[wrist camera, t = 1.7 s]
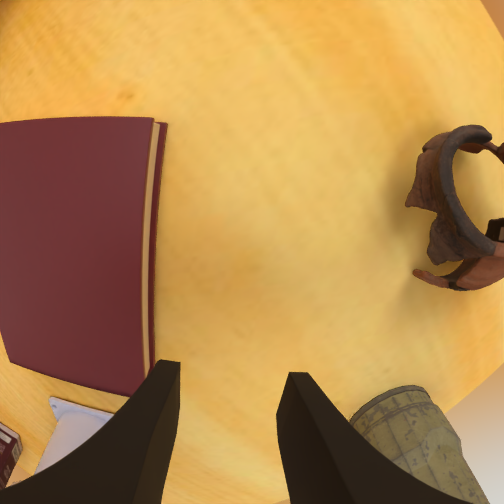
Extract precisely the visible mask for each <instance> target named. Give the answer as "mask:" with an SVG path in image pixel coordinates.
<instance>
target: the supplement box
mask: <svg viewBox="0 0 504 504" xmlns="http://www.w3.org/2000/svg"><path fill="white" fill-rule="evenodd" d="M21 452H22V446H21V441H20V437H19V435H18V434H17V433H15V432H14V431H12V430H10V429H9V428H7V427H6V426H4V425H3V424H1V423H0V490H1V489H4V488H5V487H6V485H7V482H8V480H9V478H10V476H11V473H12V471H13V469H14V467H15V465H16V463H17V461H18V458H19V456H20V454H21Z"/></svg>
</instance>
